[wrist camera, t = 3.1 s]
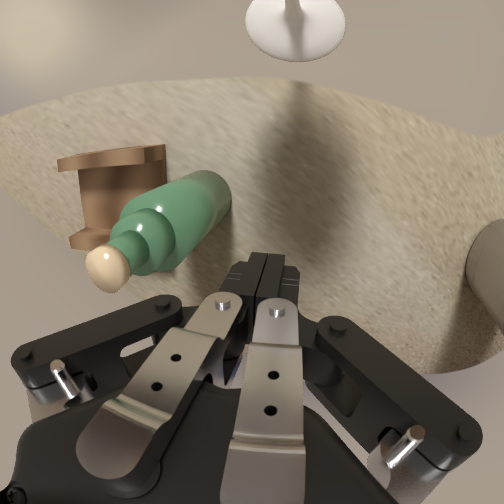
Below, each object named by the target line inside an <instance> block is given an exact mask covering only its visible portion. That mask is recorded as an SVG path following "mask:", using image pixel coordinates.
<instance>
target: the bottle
mask: <svg viewBox="0 0 504 504" xmlns="http://www.w3.org/2000/svg"><path fill="white" fill-rule="evenodd" d="M230 206H231V191H230V188H229V186H228V184H227V183H226V181H225V180H224V179H223V178H222V177H221V176H220V175H218V174H216V173H215V172H212V171H208V170H200V171H196V172H194V173H191V174H189V175H186V176H184V177H181V178H179V179H176V180H174V181H172V182H169V183H167V184H165V185H162V186H160V187H158V188H155V189H153V190H151V191H149V192H146V193H144V194H142V195H140V196H138V197H135V198H133V199H132V200H130V201H129V202H128V203H127V204H126V205H125V206H124V208H123V210H122V212H121V214H120V218H119V221H118V222H117V223H116V224H115V225H114V226H113V228H112V231H111V234H110V241H109V242H108V243H106V244H102V245H100V246H98V247H97V248H95V249H94V250H92V251H91V252H90V253H89V254H88V255H87V257H86V269H87V272H88V275H89V276H90V278H91V280H92V281H93V283H94V284H95V285H96V286H97V287H98V288H99V289H101V290H102V291H104V292H107V293H115V292H117V291H118V290H119V289H120V288H121V287H122V286H123V285H125V284H126V283H127V282H128V280H129V277H130V276H131V275H133V274H135V275H138V276H145V275H149V274H151V273H153V272H154V271H155V272H166V271H169V270H172V269H174V268H175V267H177V266H178V265H179V264H180V263H181V262H182V261H183V260H184V259H185V257H186V256H187V255H188V254H189V253H190V252H191V251H192V250H193V249H194V248H195V247H196V246H197V245H198V244H199V242H200V241H201V240H202V239H203V238H204V237H205V236H206V235H207V234H208V233H209V232H210V231H211V230H212V229H213V228H214V227H215V226H216V225H217V224H218V223H219V221H220V220H221V219H222V218H223V217H224V216H225V215H226V214H227V212H228V211H229V209H230Z"/></svg>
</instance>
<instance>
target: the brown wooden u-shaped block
mask: <svg viewBox="0 0 504 504" xmlns="http://www.w3.org/2000/svg"><path fill="white" fill-rule="evenodd" d="M57 163H58V172H63V171H70V170H78V176H79V185H80V193H81V201H82V208H83V214H84V220H85V226H86V228H84V229H82V230H80V231H79V232H77V233H75V234H73V235H72V236H70V237H69V241H70V245H71V248H72V249H79V250H85V251H92V250H94V249H95V248H97V247H98V246H100V245H102V244H106V243H108V242H109V241H110V234H111V231H112V228H113V226H114V225H115V224H116V223H117V222H118V221H119V218H120V214H121V212H122V210H123V208H124V206H125V205H126V204H127V203H128V202H129V201H130V200H132V199H133V198H135V197H138V196H140V195H142V194H144V193H146V192H149V191H151V190H153V189H155V188H158V187H160V186H162V185H165V184H167V180H166V159H165V144H162V145H149V146H138V147H128V148H119V149H111V150H103V151H96V152H90V153H83V154H78V155H74V156H70V157H66V158H62V159H58V160H57Z"/></svg>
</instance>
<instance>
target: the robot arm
mask: <svg viewBox="0 0 504 504" xmlns="http://www.w3.org/2000/svg"><path fill="white" fill-rule="evenodd" d="M466 277H467V281H468V284H469V286H470V288H471V289H472V290H473V292H474V293H475V294H476V296H477V297H478V298H479V300H480V301H481V302H482V304H483V305H484V307H485V308H486V310H487V311H488V312H489V314H490V315H491V317H492V318H493V320H494V321H495V323H496V324H497V326H498V327H499V329H500V330H501V332H502V333H503V335H504V220H498V221H495V222H492V223H491V224H489V225H488V226H487V227H486V228H485V229H484V230H483V231H482V232H481V233H480V234H479V235H478V237H477V238H476V240H475V241H474V243H473V245H472V247H471V250H470V252H469V255H468V259H467V264H466ZM299 279H300V272H299V271H298V269H297V268H296V267H294V266H285V255H280V254H269V255H268V253H258V252H252V253H251V255H250V257H249V260H248V262H243V261H239V262H237V263H236V264H234V265H233V266H232V267H231V269H230V271H229V273H228V275H227V277H226V278H225V280H224V282H223V284H222V286H221V288H220V290H219V292H217V293H213V294H211V295H209V296H207V297H206V298H205V299H204V301H203V302H202V304H201V305H200V306H192V307H182V303H181V300H180V299H179V298H178V297H176V296H173V295H158V296H155V297H152V298H149V299H147V300H144V301H141V302H139V303H136V304H133V305H131V306H128V307H125V308H122V309H120V310H117V311H114V312H112V313H109V314H106V315H103V316H101V317H98V318H95V319H93V320H90V321H87V322H84V323H81V324H79V325H76V326H73V327H71V328H68V329H65V330H62V331H59V332H57V333H54V334H51V335H48V336H45V337H43V338H40V339H37V340H34V341H31V342H29V343H26V344H24V345H21V346H20V347H18V348H17V349H16V350H15V351H14V353H13V355H12V357H11V365H12V367H13V368H14V370H15V371H16V373H17V374H18V376H19V377H20V379H21V380H22V383H23V384H24V386H25V387H26V389H27V395H28V400H29V407H30V412H31V417H32V422H33V424H31V425H30V426H29V427H28V428H26V430H25V431H24V432H23V434H22V435H21V437H20V439H19V442H18V445H17V453H16V462H15V467H14V472H13V475H12V479H11V481H10V483H9V485H8V486H7V487H6V488H5V489H4V490H2V491H0V504H420V503H421V502H422V501H423V500H424V499H425V498H426V497H427V496H428V495H429V494H430V493H431V492H432V491H433V490H434V489H435V487H436V486H437V485H438V484H439V483H440V482H441V481H442V479H443V478H444V477H445V476H446V475H447V474H448V473H450V472H451V471H453V470H454V469H455V468H456V467H458V466H459V465H460V464H462V463H463V462H464V461H466V460H467V459H468V458H469V457H470V456H472V455H473V454H474V453H475V452H476V451H477V450H478V449H479V448H480V446H481V444H482V439H483V435H482V429H481V427H480V425H479V424H478V422H477V421H476V420H475V419H474V418H472V417H471V416H470V415H469V414H467V413H466V412H465V411H464V410H463V409H461V408H460V407H459V406H458V405H456V404H455V403H454V402H453V401H451V400H450V399H449V398H448V397H447V396H445V395H444V394H443V393H442V392H440V391H439V390H438V389H437V388H435V387H434V386H433V385H432V384H430V383H429V382H428V381H426V380H425V379H424V378H423V377H422V376H420V375H419V374H418V373H417V372H415V371H414V370H413V369H412V368H410V367H409V366H408V365H407V364H405V363H404V362H403V361H402V360H400V359H399V358H398V357H397V356H395V355H394V354H393V353H392V352H390V351H389V350H388V349H387V348H385V347H384V346H383V345H382V344H380V343H379V342H378V341H376V340H375V339H374V338H373V337H371V336H370V335H369V334H368V333H366V332H365V331H364V330H363V329H361V328H360V327H359V326H358V325H356V324H355V323H354V322H352V321H351V320H349V319H347V318H345V317H341V316H328V317H325V318H323V319H321V320H320V321H319V322H318V323H317V322H314V321H311V320H309V319H307V318H305V317H303V316H302V315H301V314H300V313H299V311H298V308H297V304H298V292H299ZM150 336H152V340H153V344H154V345H153V346H150V347H148V348H146V349H143V350H141V351H139V352H136V353H134V354H132V355H129V356H126V357H120V353H121V350H122V349H123V348H124V347H126V346H128V345H131V344H133V343H135V342H138V341H140V340H142V339H145V338H147V337H150ZM245 344H249V349H248V355H247V360H246V366H245V372H244V378H243V383H242V388H241V389H230V386H231V384H232V381H233V379H234V377H235V375H236V372H237V370H238V367H239V365H240V363H241V360H242V357H243V356H242V355H243V350H244V347H245ZM303 379H304V380H305V383H306V386H307V387H308V389H309V390H310V391H311V392H312V393H313V394H314V396H315V397H316V398H317V399H318V400H319V401H320V402H321V403H322V404H323V406H325V408H326V409H327V410H328V411H329V412H330V413H331V414H332V415H333V416H334V417H335V418H336V420H337V421H338V422H339V423H340V424H341V425H342V426H343V427H344V428H345V429H346V430H347V431H348V432H349V433H350V435H351V436H352V437H353V438H354V439H355V440H356V441H357V442H358V443H359V444H360V445H361V446H362V447H363V448H364V449H365V450H366V451H367V452H368V453H369V456H368V459H367V467H368V470H369V471H368V470H367V468H366V467H365V466H364V465H363V464H362V463H361V462H360V460H359V459H358V458H357V457H356V456H355V455H354V454H353V452H352V451H351V450H350V449H349V448H348V447H347V446H346V444H345V443H344V442H343V441H342V440H341V439H340V437H339V436H338V435H337V434H336V433H335V431H333V429H332V428H331V427H330V426H329V425H328V423H327V422H326V421H325V420H324V419H323V418H322V417H321V416H320V415H319V414H317V413H316V412H315V411H313V410H312V409H310V408H308V407H306V406H304V405H303Z"/></svg>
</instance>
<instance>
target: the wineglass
mask: <svg viewBox="0 0 504 504" xmlns="http://www.w3.org/2000/svg"><path fill="white" fill-rule="evenodd" d="M245 26H246V31H247V33H248V36H249V37H250V39H251V41H252V42H253V43H254V44H255V45H256V46H257V47H258V48H259V49H260V50H261V51H263V52H264V53H266V54H268V55H270V56H272V57H275V58H277V59H280V60H284V61H291V62H306V61H311V60H316V59H319V58H321V57H324V56H326V55H328V54H329V53H331V52H332V51H333V50H335V49H336V48H337V47H338V45H339V44H340V43H341V41H342V39H343V37H344V34H345V29H346V23H345V18H344V15H343V12H342V10H341V9H340V7H339V6H338V5H337V3H336V2H335V1H334V0H254V1H253V2H252V3H251V5H250V6H249V8H248V10H247V13H246V18H245Z"/></svg>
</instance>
